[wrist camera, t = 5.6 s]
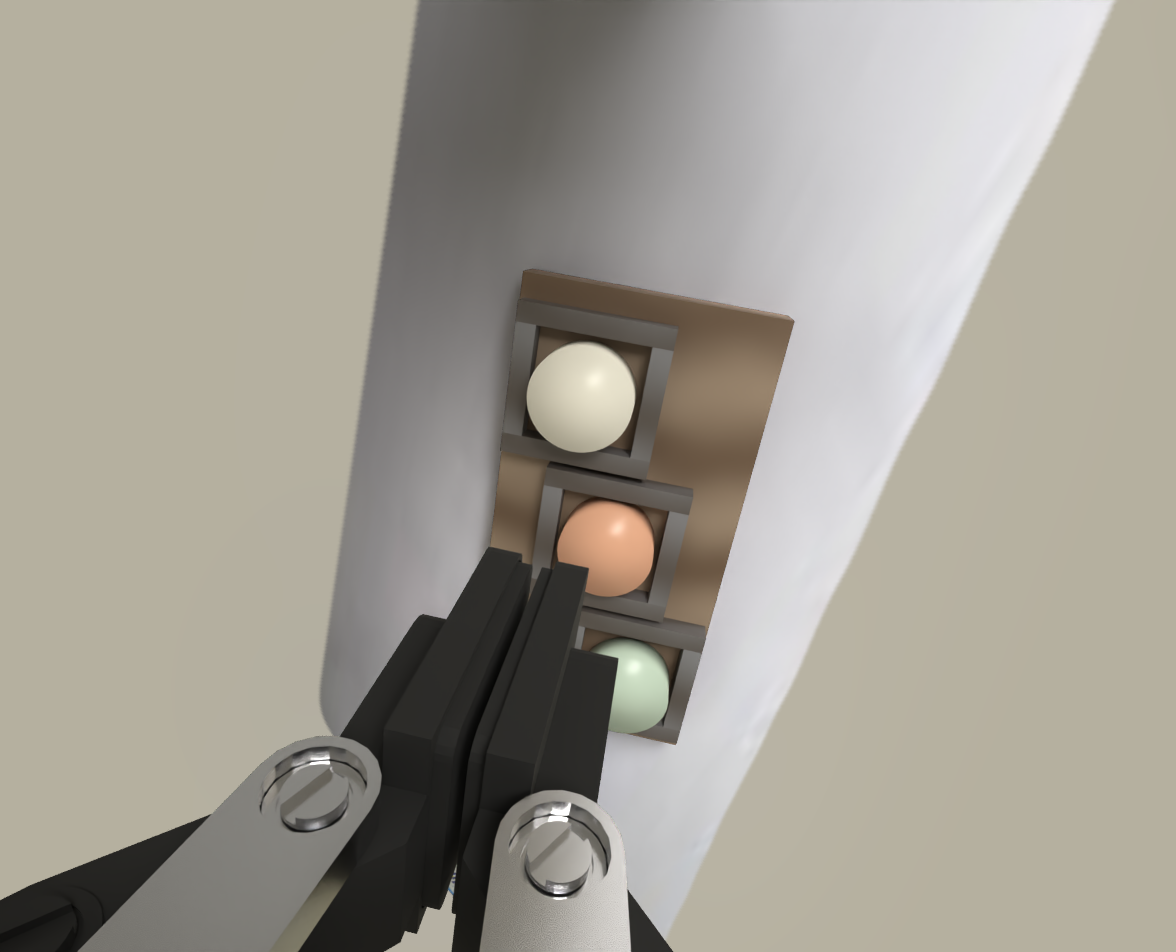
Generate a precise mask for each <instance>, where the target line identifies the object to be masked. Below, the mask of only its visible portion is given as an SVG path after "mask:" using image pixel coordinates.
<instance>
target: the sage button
mask: <svg viewBox="0 0 1176 952" xmlns="http://www.w3.org/2000/svg"><path fill="white" fill-rule="evenodd" d="M590 652H594V653H598V654H603V655H607V656H612V657H616V658H619V659H618V668H617V674H616V681H615V688H614V694H613V701H612V707H611V714H610V720H609V727H608V730H610V731H613V732H618V733H637V732H641V731H644V730H647V729H649V728H651V727H653V726H654V725H656V724H657V723H658V722H659V721H660V720H661V719H662V717H663V716H664V714H665V712H666V710H667V706H668V694H669V670H668V667H667V664H666V662H665V660H664V658H663V657H662V656H661V654H660V653H659V652H658V651H657V650H656V649H655V648H653V647H652V646H650V645H649V644H647V643H645V642H643V641H640V640H637V639H633V638H625V637H620V638H612V639H608V640H605V641H603V642H601V643H599V644H597V645H596V646H595V647H594V648H592V649H591V651H590Z"/></svg>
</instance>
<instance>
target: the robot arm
mask: <svg viewBox="0 0 1176 952" xmlns="http://www.w3.org/2000/svg"><path fill="white" fill-rule="evenodd" d="M532 571H533V565H531V564H527V563H522V553H517V552H513V551H508V550H503V549H499V548H494V547H488V549H487V550H486V552H485V554H484V555H483V557H482V559H481V561H480V562H479V564H478V566H477V568H476V569H475V571H474V573H473V574H472V576H471V578H470V580H469V581H468V583H467V585H466V587H465V588H464V590H463V592H462V594H461V595H460V597H459V599H458V600H457V602H456V604H455V606H454V607H453V609H452V611H451V613H450V614H449V616H448V618H447V620H446V619H442V618H438V617H433V616H429V615H424V614H422V615H420V616H419V617H418V618H417V619H416V620H415V622H414V623H413V625H412V626H411V628H410V629H409V631H408V632H407V634H406V635H405V637H404V638H403V640H402V642H401V643H400V645H399V646H398V648H397V649H396V651H395V652H394V654H393V655H392V657H391V658H390V660H389V662H388V663H387V665H386V666H385V668H384V669H383V671H382V672H381V674H380V675H379V677H378V678H377V680H376V682H375V683H374V685H373V686H372V688H371V689H370V691H369V692H368V694H367V695H366V697H365V698H364V700H363V702H362V703H361V705H360V706H359V708H358V709H357V711H356V712H355V714H354V715H353V717H352V719H351V720H350V722H349V723H348V725H347V726H346V728H345V729H344V731H343V732H342V734H341V735H340V737H338V736H317V737H313V738H308V739H305V740H300V741H297V742H294V743H292V744H290V745H288V746H286V747H284V748H282V749H280V750H278V751H276V752H275V753H274V754H273V755H271V756H270V757H269V758H268V759H267V760H265V761H264V762H263V763H261V764H260V765H259V766H258V767H257V768H256V769H255V771H253V773H252V774H250V776H249V777H248V778H247V779H246V780H245V781H244V782H243V783H242V784H241V785H240V786H239V787H238V788H237V789H236V790H235V791H234V792H233V793H232V794H231V795H230V796H229V797H228V798H227V799H226V800H225V801H224V802H223V803H222V804H221V805H220V806H219V807H218V808H217V809H216V811H214V812H213V814H210V815H208V816H206V817H203V818H200V819H198V820H195V821H193V822H191V823H187V824H185V825H182V826H180V827H177V828H175V829H172V830H170V831H168V832H165V833H162V834H160V835H157V836H154V837H152V838H150V839H147V840H144V841H142V842H139V843H137V844H134V845H131V846H129V847H126V848H124V849H121V850H119V851H116V852H114V853H111V854H109V855H106V856H103V857H101V858H98V859H96V860H93V861H91V862H88V863H86V864H83V865H81V866H78V867H75V868H73V869H71V870H68V871H65V872H63V873H60V874H58V875H55V876H53V877H50V878H48V879H45V880H42V881H40V882H37V883H35V884H32V885H30V886H28V887H26V888H24V889H22V890H20V891H18V892H16V893H14V894H12V895H10V896H8V897H6V898H4V899H2V900H0V952H384V951H386V950H388V949H389V948H391V947H393V946H395V945H396V944H398V943H400V942H401V939H402V937H403V934H404V932H405V931H407V932H411V933H415V934H417V932H418V929H419V926H420V924H421V921H422V918H423V916H424V913H425V910H426V908H427V907H430V908H434V909H438V910H440V908H441V907H442V904H443V902H444V899H445V897H446V894H447V891H448V888H449V885H450V882H451V880H452V877H453V874H454V871H455V868H456V876H455V885H454V894H453V903H452V913H453V914H456V918H455V926H454V935H453V944H452V952H673V951H672V949H671V948H670V947H669V945H668V944H667V943H666V941H665V940H664V939H663V937H662V936H661V934H660V933H659V932H658V930H657V929H656V928H655V926H654V925H653V924H652V922H651V921H650V919H649V918H648V917H647V915H646V914H645V913H644V911H643V910H642V909H641V907H640V906H639V904H638V903H637V902H636V900H635V899H634V898H633V896H632V895H631V894H630V892H629V891H628V889H627V876H626V859H625V850H624V846H623V841H622V837H621V833H620V832H619V830H618V828H617V826H616V825H615V823H614V821H613V819H612V818H611V817H610V816H609V815H608V814H607V813H606V812H605V811H604V810H603V809H602V808H601V807H600V806H599V805H598V804H597V799H598V793H599V786H600V780H601V773H602V766H603V760H604V753H605V747H606V740H607V734H608V727H609V720H610V714H611V707H612V701H613V694H614V688H615V681H616V674H617V668H618V659H619V658H616V657H612V656H607V655H603V654H598V653H594V652H589V651H585V650H580V649H576V648H575V643H576V638H577V632H578V627H579V622H580V616H581V611H582V606H583V600H584V595H585V590H586V584H587V579H588V573H589V568H587V567H582V566H578V565H573V564H568V563H564V562H559V561H557V562H556V564H555V567H554V569H550V568H545V567H542V568H541V571H540V573H539V576H538V578H537V581H536V583H535V586H534V588H533V591H532V593H531V596H530V598H529V592H530V585H531V578H532ZM528 599H529V601H528ZM456 865H457V867H456Z"/></svg>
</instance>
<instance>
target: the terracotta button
mask: <svg viewBox="0 0 1176 952" xmlns="http://www.w3.org/2000/svg"><path fill="white" fill-rule="evenodd" d="M654 544H655V535H654V530H653V526H652V524H651V521H650V520H649V518H648V516H647V515H646V514H645V513H644V511H643V510H642V509H641V508H640V507H638V506H637V505H636V504H632V503H627V502H622V501H618V500H613V499H608V498H603V497H598V496H597V497H593V498H590V499H587V500H585V501H583V502H582V503H580V504H579V505H578V506H577V507H576V508H574V509H573V511H572V512H571V513H570V515H569V517H568V518H567V521H566V523H565V526H564V528H563V531H562V533H561V536H560V538H559V541H558V547H557V555H558V561H559V562H564V563H568V564H573V565H578V566H582V567H587V568H589V573H588V579H587V584H586V590H585V592H588V593H590V594H593V595H597V596H605V597H611V596H619V595H623V594H626V593H628V592H630V591H632V590H634V589H636V588H637V587H638V586H639V585H641V584H642V583H643V581H644V580H645V579H646V578H647V576H648V574H649V572H650V570H651V567H652V563H653V554H654Z"/></svg>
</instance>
